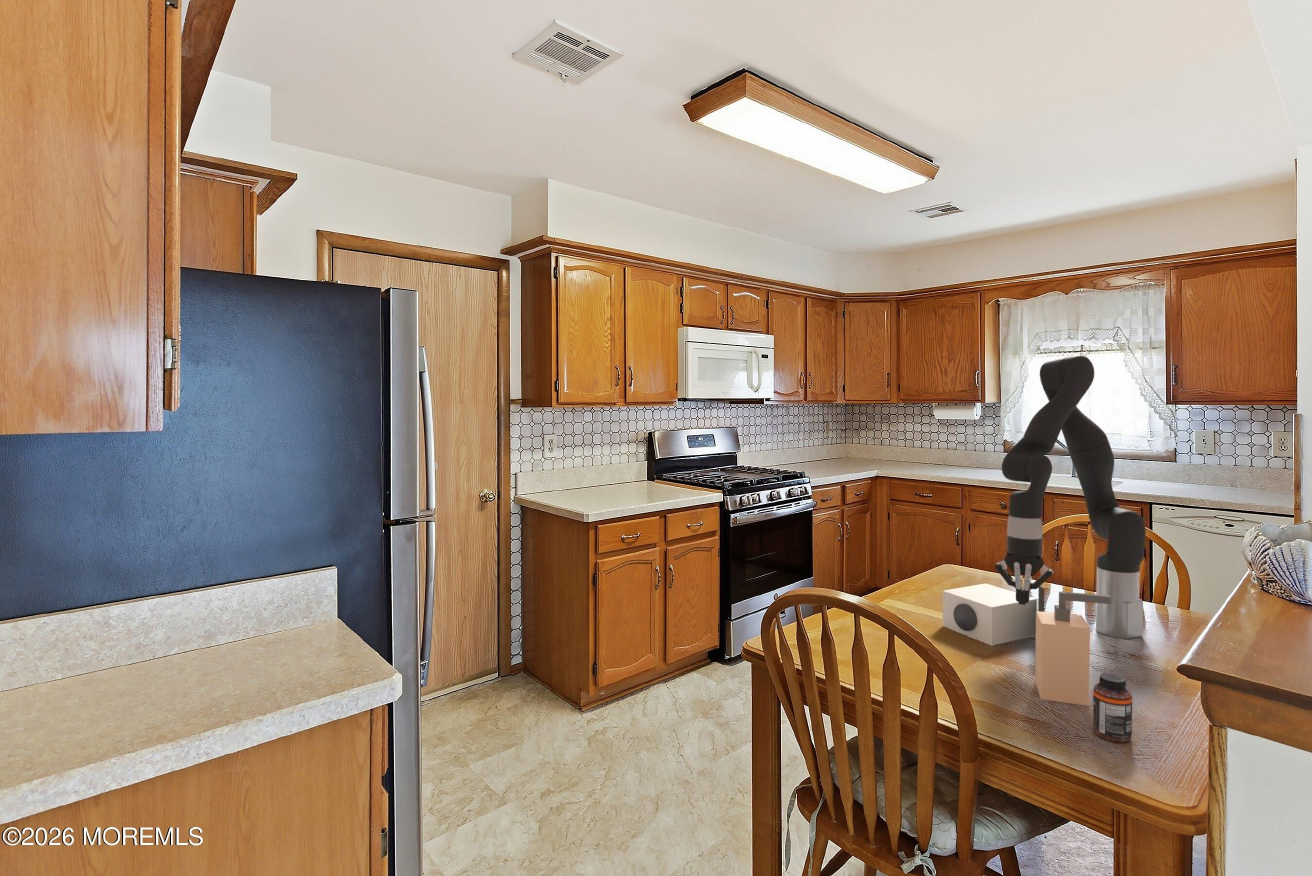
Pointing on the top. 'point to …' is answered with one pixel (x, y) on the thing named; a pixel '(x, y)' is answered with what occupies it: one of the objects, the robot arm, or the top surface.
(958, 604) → the camera box
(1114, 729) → the supplement bottle
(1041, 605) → the side door
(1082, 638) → the soap dispenser
